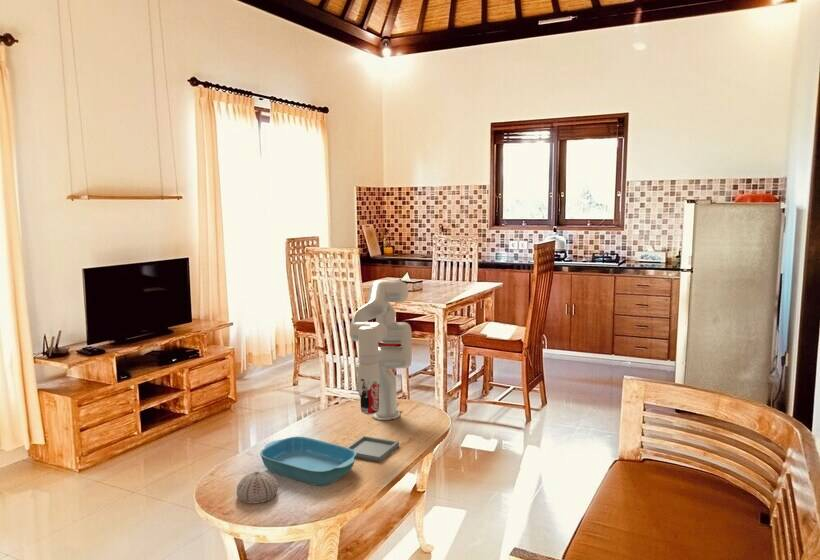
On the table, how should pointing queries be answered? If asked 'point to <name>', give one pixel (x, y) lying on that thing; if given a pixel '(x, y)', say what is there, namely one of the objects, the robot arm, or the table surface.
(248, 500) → the sea urchin shell
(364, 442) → the tray
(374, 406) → the soda can
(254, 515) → the table surface
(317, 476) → the casserole dish
